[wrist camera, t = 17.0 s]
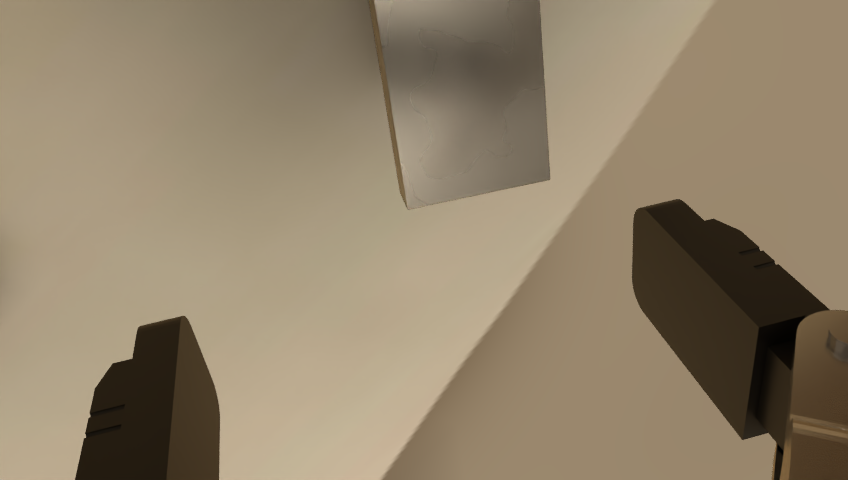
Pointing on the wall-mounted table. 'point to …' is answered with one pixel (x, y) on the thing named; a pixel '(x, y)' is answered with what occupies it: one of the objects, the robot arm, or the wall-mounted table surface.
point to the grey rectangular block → (462, 95)
